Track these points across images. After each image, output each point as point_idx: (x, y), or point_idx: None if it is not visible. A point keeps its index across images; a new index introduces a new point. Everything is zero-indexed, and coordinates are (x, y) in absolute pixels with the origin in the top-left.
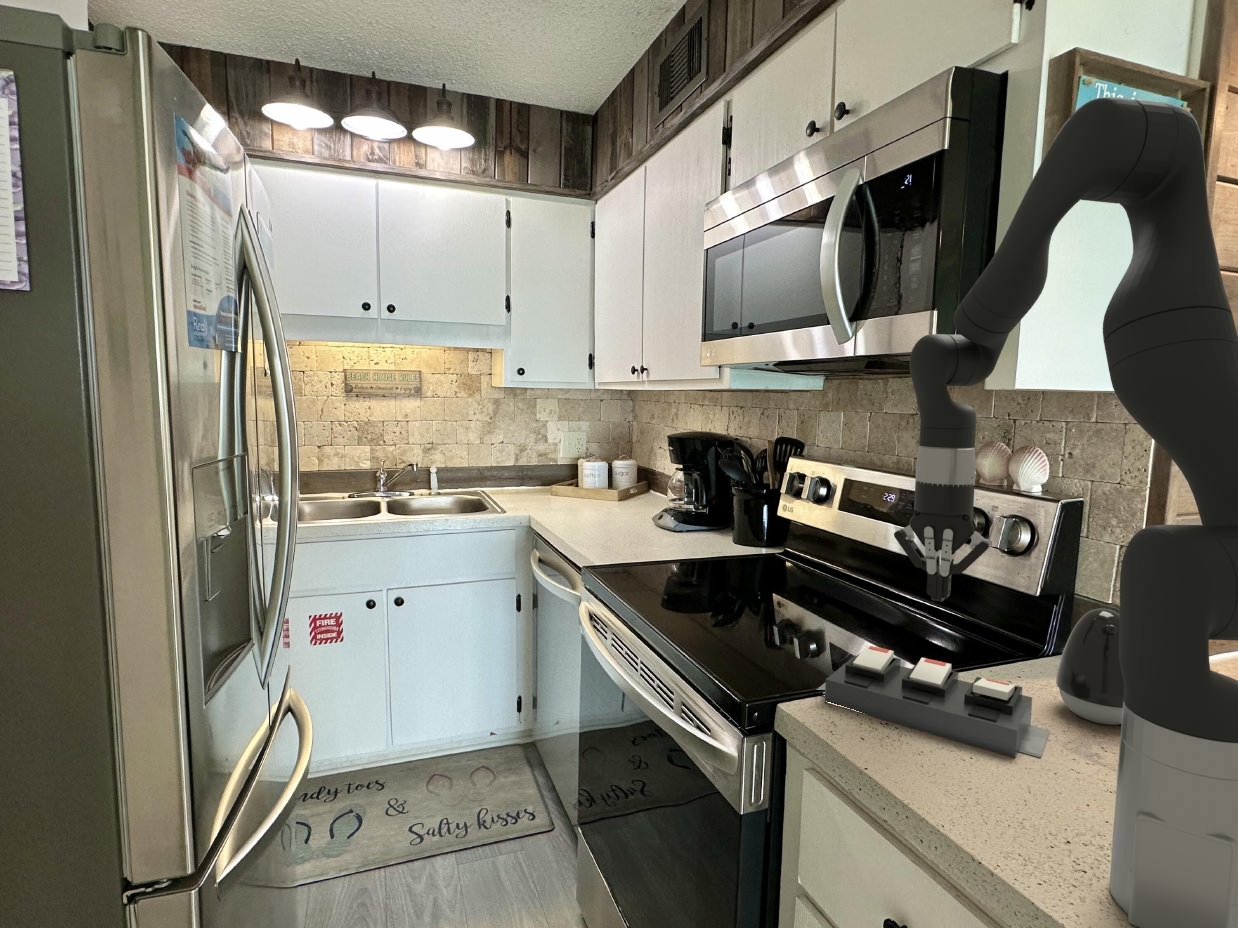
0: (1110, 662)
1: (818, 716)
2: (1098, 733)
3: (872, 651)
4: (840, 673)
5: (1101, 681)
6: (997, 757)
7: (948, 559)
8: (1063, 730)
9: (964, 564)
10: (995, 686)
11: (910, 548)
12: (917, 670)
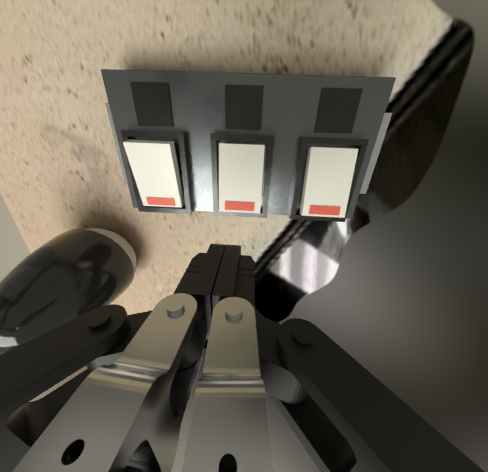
0: (27, 261)
1: (378, 19)
2: (98, 211)
3: (332, 200)
4: (370, 126)
5: (56, 242)
6: (140, 65)
7: (104, 372)
8: (121, 198)
9: (36, 351)
10: (149, 167)
11: (404, 465)
12: (257, 170)
